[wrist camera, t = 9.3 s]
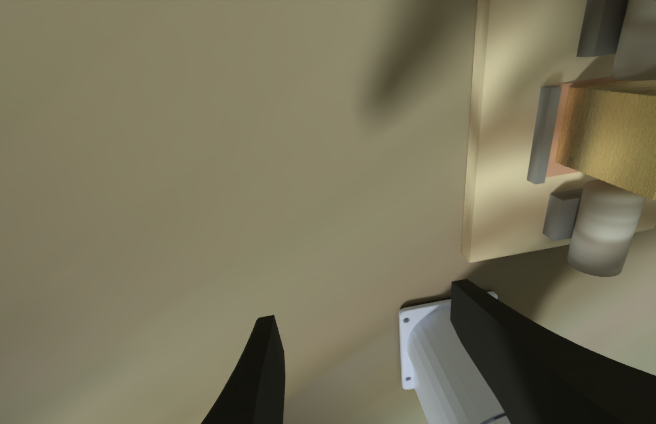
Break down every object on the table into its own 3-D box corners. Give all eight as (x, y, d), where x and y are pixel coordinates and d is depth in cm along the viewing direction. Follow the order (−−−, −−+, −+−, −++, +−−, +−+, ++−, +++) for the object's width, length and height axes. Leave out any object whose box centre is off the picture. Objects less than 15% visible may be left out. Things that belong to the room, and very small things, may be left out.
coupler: (614, 152, 20) (732, 186, 15) (554, 161, 20) (652, 200, 15) (635, 77, 18) (779, 85, 13) (569, 87, 18) (688, 99, 13)
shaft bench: (637, 221, 25) (717, 258, 20) (461, 253, 24) (502, 299, 19) (731, -58, 17) (893, -100, 13) (479, -24, 16) (553, -55, 12)
